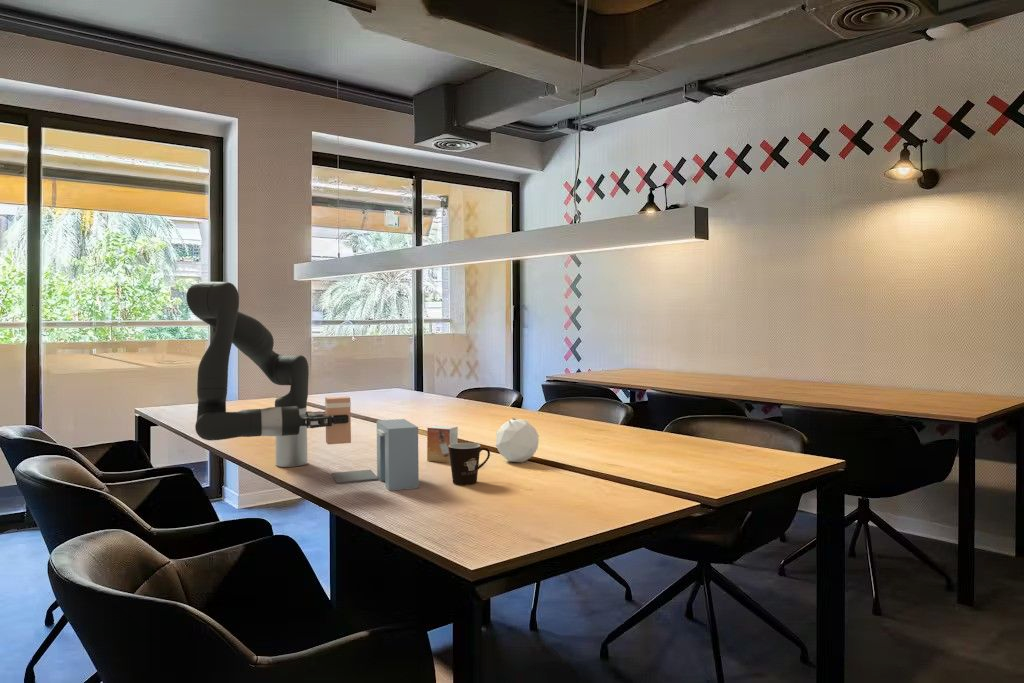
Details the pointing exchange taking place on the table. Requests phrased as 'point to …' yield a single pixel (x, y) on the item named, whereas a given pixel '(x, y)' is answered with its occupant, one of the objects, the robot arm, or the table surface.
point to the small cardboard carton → (338, 431)
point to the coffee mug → (465, 462)
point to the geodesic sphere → (517, 440)
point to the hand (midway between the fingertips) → (346, 417)
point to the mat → (354, 476)
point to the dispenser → (397, 454)
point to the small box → (440, 442)
